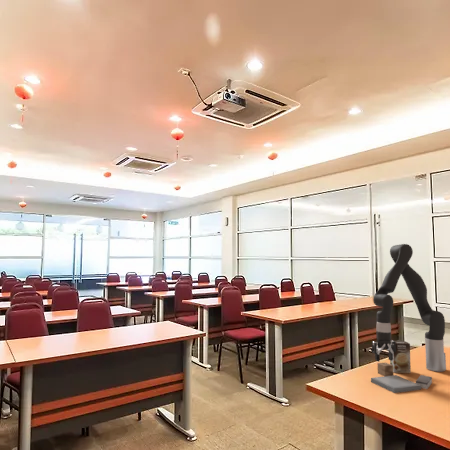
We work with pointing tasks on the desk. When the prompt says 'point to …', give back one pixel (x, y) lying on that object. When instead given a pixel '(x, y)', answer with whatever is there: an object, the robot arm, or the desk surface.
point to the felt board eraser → (424, 381)
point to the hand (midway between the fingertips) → (384, 360)
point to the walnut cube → (385, 369)
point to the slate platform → (395, 383)
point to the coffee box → (401, 358)
